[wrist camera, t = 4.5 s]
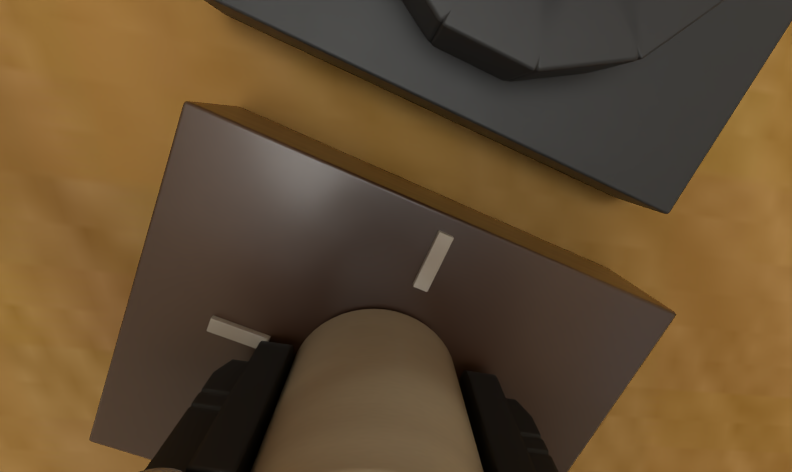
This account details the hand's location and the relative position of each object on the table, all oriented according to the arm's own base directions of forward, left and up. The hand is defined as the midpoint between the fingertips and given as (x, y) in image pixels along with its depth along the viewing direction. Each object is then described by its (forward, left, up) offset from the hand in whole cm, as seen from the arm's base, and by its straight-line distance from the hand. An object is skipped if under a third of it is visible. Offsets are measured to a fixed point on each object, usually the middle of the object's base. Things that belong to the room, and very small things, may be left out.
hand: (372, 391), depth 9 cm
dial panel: (0, 0, -3) cm, 3 cm away
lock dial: (0, 0, 0) cm, 0 cm away
